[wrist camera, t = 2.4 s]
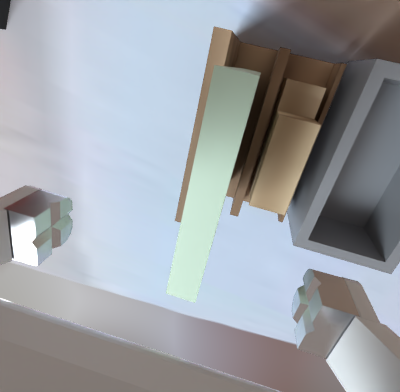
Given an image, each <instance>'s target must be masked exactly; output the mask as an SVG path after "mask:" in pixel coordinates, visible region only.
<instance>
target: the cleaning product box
mask: <svg viewBox="0 0 400 392" xmlns="http://www.w3.org/2000/svg"><path fill="white" fill-rule="evenodd" d="M10 1H11V0H0V29H5V30H6V25H7V19H8V13H9V7H10Z"/></svg>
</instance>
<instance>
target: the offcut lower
mask: <svg viewBox="0 0 400 392" xmlns="http://www.w3.org/2000/svg"><path fill="white" fill-rule="evenodd" d="M325 91H326V88H323V87H320V86H316V85H311V84H307V83H303V82H299V81H295V80H290V79H286V78H284V82H283V85H282V88H281V91H280V94H279V97H278V100H277V103H276V106H275V109H274V113H273V116H272V119H271V122H270V125H269V128H268V131H267V134H266V137H265V140H264V143H263V147H262V150H261V153H260V156H259V159H258V162H257V165H256V168H255V171H254V174H253V177H252V181H251V184H250V190H249V197H250V191H251V188H252V185H253V182H254V179H255V176H256V173H257V170H258V167H259V164H260V161H261V158H262V155H263V152H264V149H265V146H266V143H267V139H268V136H269V133H270V130H271V127H272V124H273V121H274V118H275V115H276V112H277V110H279V111H284V112H288V113H292V114H296V115H300V116H304V117H308V118H312V119H315V116H316V114H317V111H318V109H319V106H320V103H321V101H322V98H323V96H324V93H325Z"/></svg>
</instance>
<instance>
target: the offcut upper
mask: <svg viewBox="0 0 400 392" xmlns="http://www.w3.org/2000/svg"><path fill="white" fill-rule="evenodd" d="M320 127H321V125H320V124H319V123H318V122H317V121H316V120H315V119H312V118H308V117H304V116H300V115H296V114H292V113H288V112H284V111H279V110H277V112H276V115H275V118H274V121H273V124H272V127H271V130H270V133H269V136H268V139H267V143H266V146H265V149H264V152H263V155H262V158H261V161H260V164H259V167H258V170H257V173H256V176H255V179H254V182H253V185H252V188H251V191H250V201H249V205H250V206H254V207H257V208H261V209H264V210H268V211H271V212H275V213H278V214H282V215H285V213H286V210H287V208H288V206H289V203H290V201H291V198H292V196H293V193H294V191H295V188H296V186H297V183H298V181H299V179H300V176H301V174H302V171H303V169H304V166H305V164H306V161H307V159H308V156H309V154H310V152H311V149H312V147H313V144H314V142H315V139H316V137H317V134H318V132H319V129H320Z"/></svg>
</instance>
